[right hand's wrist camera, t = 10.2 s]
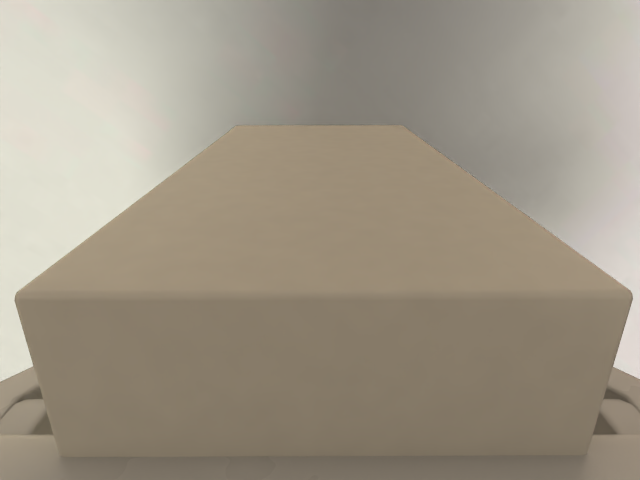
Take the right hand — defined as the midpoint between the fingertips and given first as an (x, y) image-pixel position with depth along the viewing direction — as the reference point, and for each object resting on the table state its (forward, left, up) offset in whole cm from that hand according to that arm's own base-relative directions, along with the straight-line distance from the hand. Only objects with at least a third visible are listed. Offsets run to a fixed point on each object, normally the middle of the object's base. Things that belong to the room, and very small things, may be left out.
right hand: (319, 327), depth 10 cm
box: (+7, +6, -7) cm, 11 cm away
